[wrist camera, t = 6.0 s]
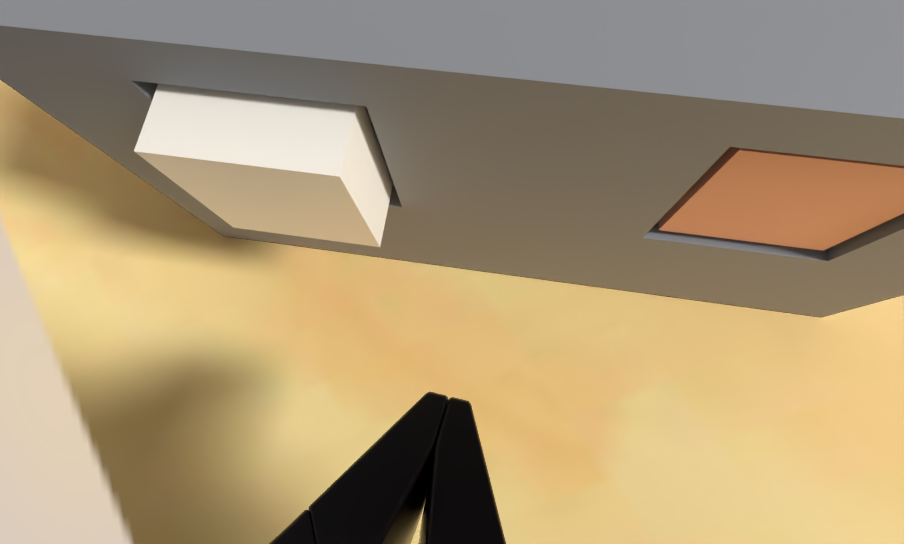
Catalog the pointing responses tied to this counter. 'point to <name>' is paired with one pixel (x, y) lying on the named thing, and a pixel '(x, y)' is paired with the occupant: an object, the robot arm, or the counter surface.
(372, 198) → the cream button
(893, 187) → the terracotta button
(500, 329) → the counter surface
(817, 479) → the counter surface
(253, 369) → the counter surface
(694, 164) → the console
